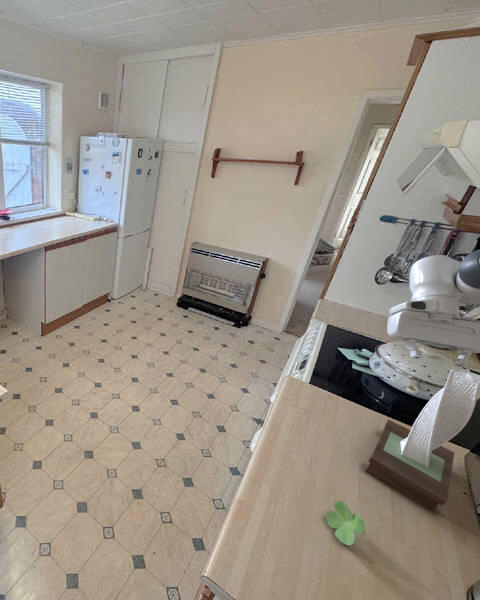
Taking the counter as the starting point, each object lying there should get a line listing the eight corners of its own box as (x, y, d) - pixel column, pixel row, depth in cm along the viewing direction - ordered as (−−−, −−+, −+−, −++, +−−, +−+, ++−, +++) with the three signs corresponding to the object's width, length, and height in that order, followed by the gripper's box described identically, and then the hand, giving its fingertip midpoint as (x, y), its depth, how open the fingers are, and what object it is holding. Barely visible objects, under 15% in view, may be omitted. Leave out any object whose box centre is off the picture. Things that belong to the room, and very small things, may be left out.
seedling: (340, 542, 73) (325, 537, 71) (338, 503, 76) (324, 497, 74) (380, 556, 67) (366, 551, 65) (377, 513, 71) (363, 506, 68)
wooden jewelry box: (380, 431, 98) (388, 419, 96) (443, 464, 88) (454, 452, 86) (361, 470, 85) (370, 457, 83) (434, 514, 76) (446, 501, 73)
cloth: (404, 388, 117) (407, 383, 116) (333, 360, 130) (335, 355, 129) (403, 364, 131) (406, 359, 130) (339, 341, 144) (341, 337, 143)
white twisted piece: (435, 474, 80) (511, 387, 67) (396, 456, 84) (460, 371, 71) (430, 453, 85) (499, 370, 73) (394, 437, 89) (453, 356, 77)
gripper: (470, 322, 87) (475, 372, 83) (382, 308, 92) (383, 354, 88) (494, 316, 82) (501, 369, 78) (399, 300, 86) (401, 350, 82)
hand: (438, 361), depth 83 cm, fingers open, 8 cm apart
